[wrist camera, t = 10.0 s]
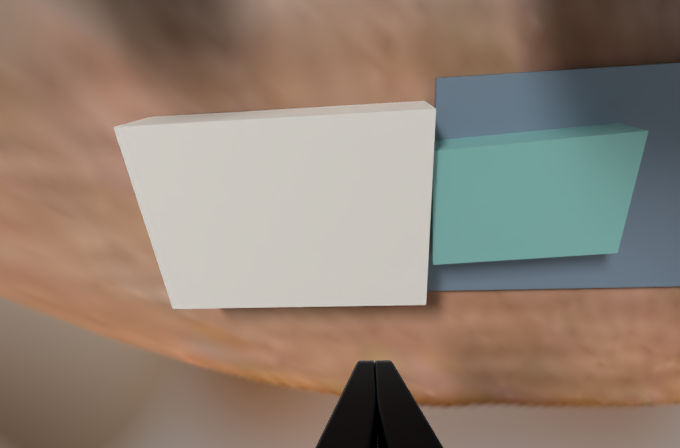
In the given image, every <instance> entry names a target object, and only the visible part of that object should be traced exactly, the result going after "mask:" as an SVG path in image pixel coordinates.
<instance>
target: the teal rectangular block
mask: <svg viewBox="0 0 680 448" xmlns="http://www.w3.org/2000/svg"><path fill="white" fill-rule="evenodd" d="M647 135H648V130H644V129H640V128H636V127H632V126H628V125H624V124H620V123H611V124H601V125H591V126H580V127H570V128H560V129H549V130H539V131H529V132H519V133H508V134H498V135H488V136H477V137H467V138H457V139H446V140H436V141H434V160H433V180H432V200H431V219H430V239H429V255H430V258H431V261H432V264H433V265H440V264H455V263H471V262H487V261H502V260H518V259H534V258H549V257H565V256H581V255H596V254H612V253H618V249H619V245H620V241H621V238H622V234H623V230H624V226H625V222H626V218H627V214H628V210H629V206H630V202H631V198H632V194H633V190H634V186H635V182H636V178H637V174H638V171H639V167H640V163H641V159H642V155H643V151H644V147H645V143H646V139H647Z"/></svg>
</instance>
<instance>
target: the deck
mask: <svg viewBox="0 0 680 448" xmlns="http://www.w3.org/2000/svg"><path fill="white" fill-rule="evenodd" d="M435 121H436V108H434V107H433V106H431V105H430V104H428V103H427V102H425V101H412V102H395V103H378V104H361V105H344V106H327V107H310V108H293V109H276V110H259V111H242V112H225V113H208V114H191V115H174V116H157V117H148V118H144V119H141V120H137V121H134V122H130V123H126V124H123V125H119V126H116V127H114V130H115V133H116V136H117V139H118V142H119V146H120V149H121V152H122V155H123V158H124V161H125V164H126V167H127V170H128V173H129V176H130V179H131V182H132V185H133V188H134V191H135V194H136V198H137V201H138V204H139V207H140V210H141V213H142V216H143V219H144V222H145V225H146V228H147V231H148V234H149V237H150V240H151V243H152V246H153V249H154V253H155V256H156V259H157V262H158V265H159V268H160V271H161V274H162V277H163V280H164V283H165V286H166V289H167V292H168V295H169V298H170V301H171V305H172V308H173V309H202V308H266V307H329V306H393V305H426V298H427V278H428V259H429V239H430V219H431V200H432V180H433V160H434V141H435Z"/></svg>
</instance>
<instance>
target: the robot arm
mask: <svg viewBox="0 0 680 448" xmlns="http://www.w3.org/2000/svg"><path fill="white" fill-rule="evenodd" d="M377 433H378V435H377ZM316 448H443V446H442V445H441V443H440V442H439V440H438V438H437V437H436V435H435V433H434V431H433V430H432V428H431V426H430V425H429V423H428V421H427V420H426V418H425V416H424V415H423V413H422V411H421V410H420V408H419V406H418V405H417V403H416V401H415V400H414V398H413V396H412V395H411V393H410V391H409V390H408V388H407V386H406V384H405V383H404V381H403V379H402V378H401V376H400V374H399V373H398V371H397V369H396V368H395V366H394V364H393V363H392V362H391V361H389V360H378V361H376V362H375V364H374V361H358V362H357V364H356V366H355V368H354V370H353V372H352V374H351V376H350V378H349V380H348V382H347V384H346V386H345V388H344V390H343V392H342V395H341V397H340V399H339V401H338V403H337V405H336V407H335V409H334V411H333V414H332V415H331V417H330V419H329V421H328V423H327V425H326V428H325V429H324V432H323V433H322V435H321V438H320V440H319V442H318V444H317V446H316Z"/></svg>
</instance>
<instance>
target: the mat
mask: <svg viewBox="0 0 680 448" xmlns="http://www.w3.org/2000/svg"><path fill="white" fill-rule="evenodd" d="M434 108H436V121H435V141H436V140H446V139H457V138H467V137H477V136H488V135H498V134H508V133H519V132H529V131H539V130H549V129H560V128H570V127H580V126H591V125H601V124H611V123H620V124H624V125H628V126H632V127H636V128H640V129H644V130H648V135H647V139H646V143H645V147H644V151H643V155H642V159H641V163H640V167H639V171H638V174H637V178H636V182H635V186H634V190H633V194H632V198H631V202H630V206H629V210H628V214H627V218H626V222H625V226H624V230H623V234H622V238H621V241H620V245H619V249H618V253H612V254H596V255H581V256H565V257H549V258H534V259H518V260H502V261H487V262H471V263H455V264H440V265H433V264H432V261H431V258H430V255H429V259H428V278H427V291H458V290H511V289H565V288H619V287H673V286H680V63H664V64H648V65H632V66H617V67H601V68H585V69H569V70H554V71H538V72H522V73H506V74H491V75H475V76H459V77H444V78H436V84H435V105H434Z"/></svg>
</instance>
